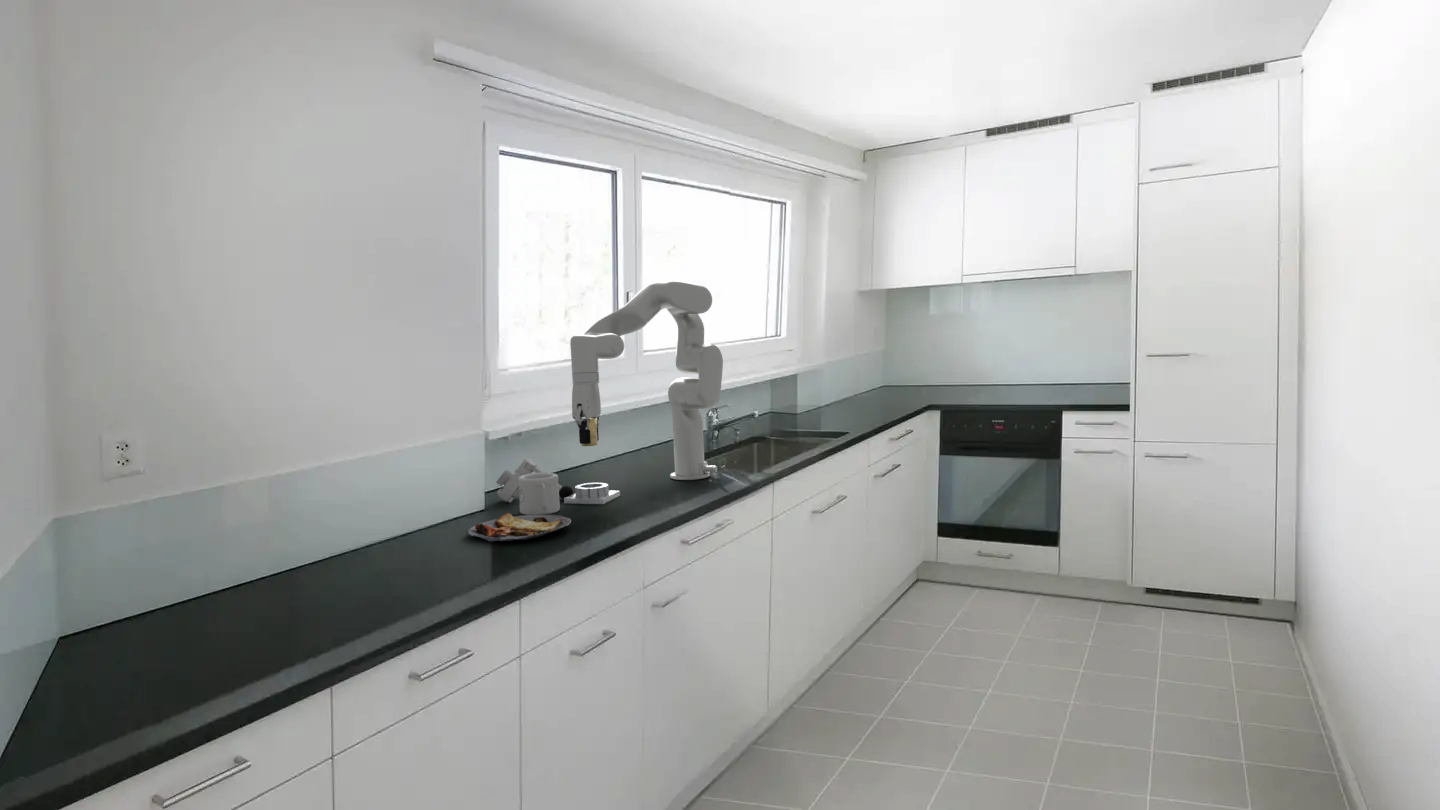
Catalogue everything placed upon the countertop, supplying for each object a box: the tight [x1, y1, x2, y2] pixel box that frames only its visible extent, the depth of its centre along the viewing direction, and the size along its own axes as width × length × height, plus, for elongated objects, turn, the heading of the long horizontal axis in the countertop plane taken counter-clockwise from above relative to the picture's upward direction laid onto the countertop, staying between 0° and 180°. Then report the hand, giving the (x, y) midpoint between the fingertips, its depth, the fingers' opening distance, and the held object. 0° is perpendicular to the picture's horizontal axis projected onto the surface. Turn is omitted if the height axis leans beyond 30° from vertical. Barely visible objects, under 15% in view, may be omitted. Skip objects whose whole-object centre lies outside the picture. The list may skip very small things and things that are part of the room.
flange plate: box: [563, 482, 621, 505], centre depth 278 cm, size 12×12×4 cm
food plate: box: [465, 512, 572, 543], centre depth 240 cm, size 25×23×4 cm
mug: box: [518, 472, 561, 516], centre depth 263 cm, size 14×11×10 cm
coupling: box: [580, 418, 599, 447], centre depth 277 cm, size 5×5×8 cm
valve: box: [495, 457, 574, 504], centre depth 281 cm, size 10×20×15 cm
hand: (589, 441), depth 277 cm, fingers closed on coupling, 4 cm apart
